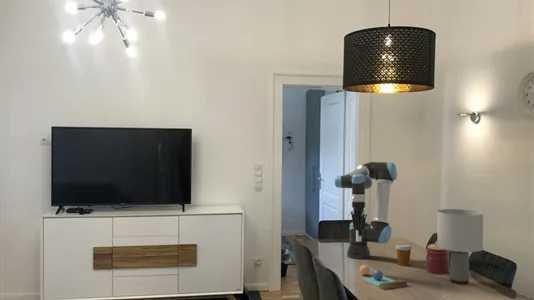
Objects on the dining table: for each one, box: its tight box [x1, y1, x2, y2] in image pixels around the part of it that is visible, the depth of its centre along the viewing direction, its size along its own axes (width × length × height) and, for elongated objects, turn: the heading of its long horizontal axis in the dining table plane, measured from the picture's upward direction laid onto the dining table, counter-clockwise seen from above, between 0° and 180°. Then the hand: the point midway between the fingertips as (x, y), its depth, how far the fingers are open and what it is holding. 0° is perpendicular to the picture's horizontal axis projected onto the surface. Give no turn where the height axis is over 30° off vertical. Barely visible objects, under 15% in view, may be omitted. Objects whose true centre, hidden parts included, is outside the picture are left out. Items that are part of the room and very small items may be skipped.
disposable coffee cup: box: [395, 243, 412, 267], centre depth 283 cm, size 10×10×12 cm
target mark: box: [362, 275, 395, 287], centre depth 249 cm, size 14×14×1 cm
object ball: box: [372, 269, 384, 280], centre depth 251 cm, size 6×6×6 cm
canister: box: [425, 241, 450, 275], centre depth 268 cm, size 13×13×18 cm
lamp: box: [436, 208, 484, 286], centre depth 247 cm, size 23×23×38 cm
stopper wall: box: [379, 279, 408, 290], centre depth 239 cm, size 2×16×2 cm, turn 114°
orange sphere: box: [358, 264, 370, 276], centre depth 261 cm, size 6×6×6 cm
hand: (358, 241), depth 268 cm, fingers closed
